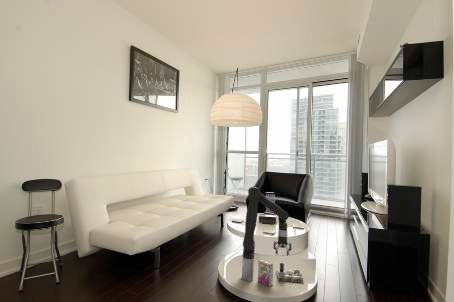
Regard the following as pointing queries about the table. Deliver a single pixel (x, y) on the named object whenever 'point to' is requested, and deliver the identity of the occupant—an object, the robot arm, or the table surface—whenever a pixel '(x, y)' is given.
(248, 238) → the robot arm
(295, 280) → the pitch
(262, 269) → the candy bar box
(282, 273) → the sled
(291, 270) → the ball
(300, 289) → the table surface
